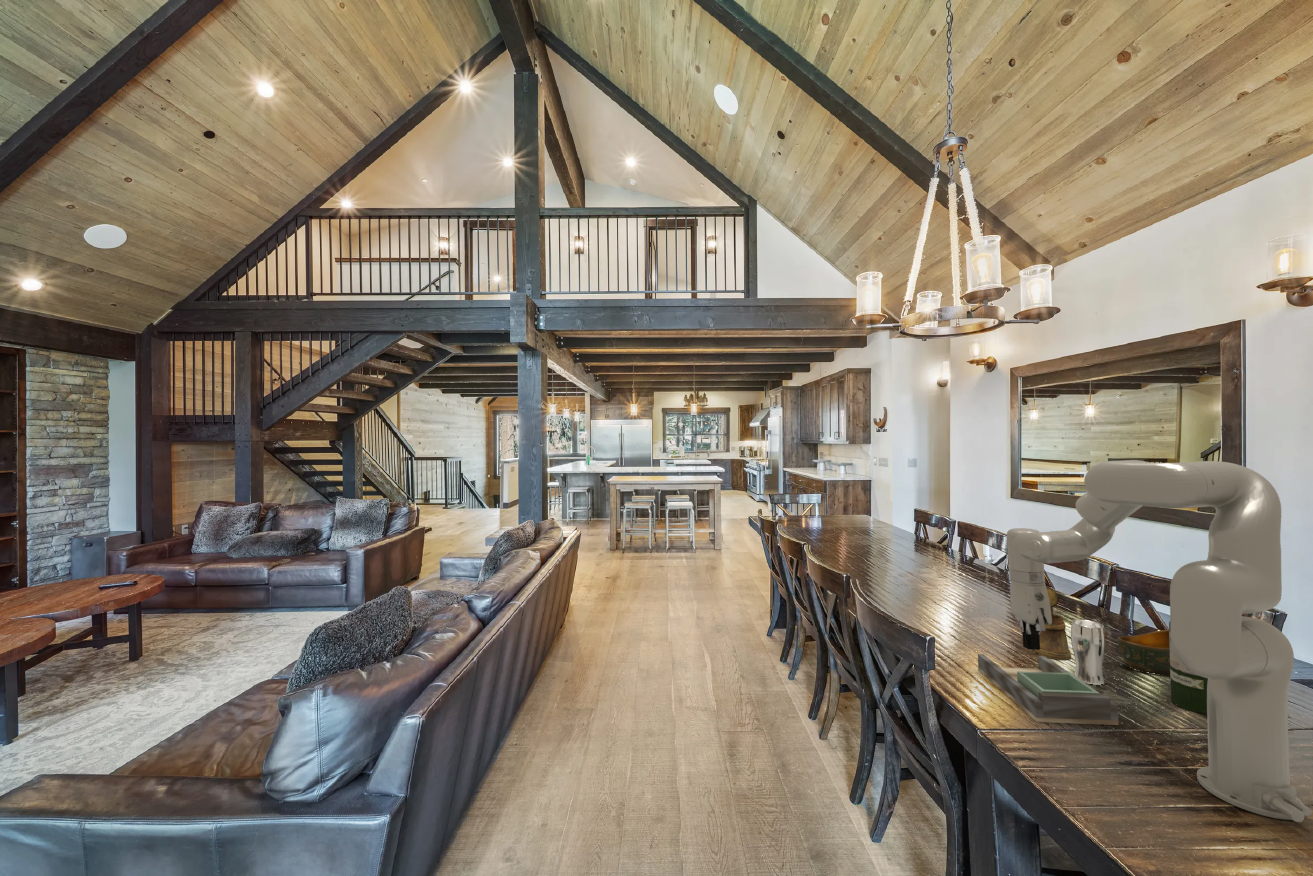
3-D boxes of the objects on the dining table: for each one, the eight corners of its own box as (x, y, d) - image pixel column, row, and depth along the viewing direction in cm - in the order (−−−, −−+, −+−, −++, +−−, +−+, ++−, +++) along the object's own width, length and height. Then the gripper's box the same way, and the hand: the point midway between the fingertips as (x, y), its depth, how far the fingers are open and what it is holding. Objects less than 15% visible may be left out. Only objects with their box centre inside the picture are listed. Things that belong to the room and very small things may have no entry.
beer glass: (1113, 687, 130) (1111, 629, 131) (1082, 685, 132) (1080, 627, 132) (1095, 675, 137) (1094, 619, 137) (1066, 673, 139) (1064, 618, 139)
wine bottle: (1163, 701, 123) (1160, 577, 123) (1182, 695, 126) (1178, 574, 126) (1208, 718, 116) (1204, 586, 116) (1226, 711, 119) (1223, 582, 119)
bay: (1118, 725, 114) (1117, 698, 114) (1036, 721, 116) (1035, 695, 116) (1044, 672, 140) (1043, 650, 140) (978, 670, 142) (977, 648, 142)
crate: (1100, 715, 116) (1099, 693, 116) (1043, 712, 117) (1042, 691, 117) (1070, 693, 126) (1069, 673, 126) (1017, 691, 127) (1017, 671, 127)
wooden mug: (1064, 645, 157) (1063, 587, 157) (1074, 662, 145) (1072, 599, 145) (1029, 640, 161) (1027, 583, 161) (1035, 656, 149) (1034, 595, 150)
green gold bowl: (1226, 688, 129) (1224, 647, 129) (1122, 672, 139) (1120, 634, 139) (1205, 668, 140) (1203, 631, 140) (1109, 655, 150) (1108, 620, 150)
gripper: (1061, 583, 125) (1067, 660, 124) (1025, 570, 140) (1029, 638, 139) (1028, 583, 126) (1033, 659, 125) (995, 570, 140) (1000, 638, 139)
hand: (1031, 648), depth 132 cm, fingers closed
